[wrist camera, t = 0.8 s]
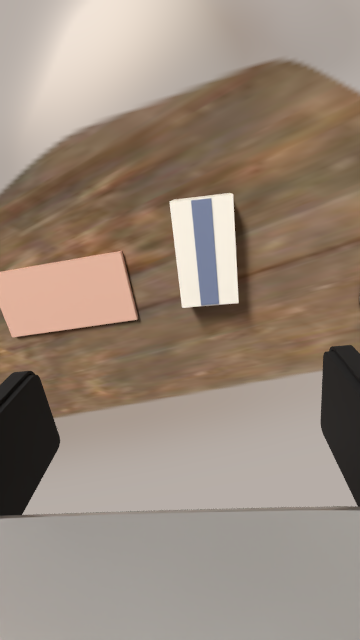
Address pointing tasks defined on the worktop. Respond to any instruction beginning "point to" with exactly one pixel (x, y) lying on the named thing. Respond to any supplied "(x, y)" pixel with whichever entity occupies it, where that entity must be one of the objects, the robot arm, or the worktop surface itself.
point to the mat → (67, 295)
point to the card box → (205, 249)
